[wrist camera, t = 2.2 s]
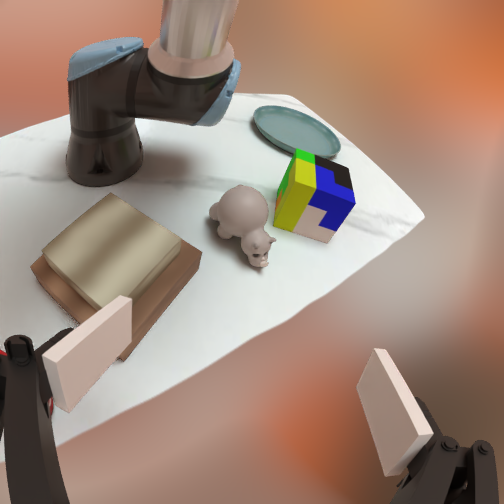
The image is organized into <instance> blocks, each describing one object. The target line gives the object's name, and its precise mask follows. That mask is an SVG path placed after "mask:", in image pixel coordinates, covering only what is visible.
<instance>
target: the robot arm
mask: <svg viewBox="0 0 504 504" xmlns="http://www.w3.org/2000/svg"><path fill="white" fill-rule="evenodd" d="M238 2H239V0H163V6H162V17H161V30H160V37H159V38H157V39H156V40H155V41H154V42H153V43H152V44H151V46H150V47H149V48H143V45H144V43H143V40H142V39H141V38H136V37H124V38H116V39H110V40H106V41H101V42H98V43H94V44H91V45H88V46H86V47H84V48H82V49H80V50H78V51H76V52H75V53H74V54H73V55H72V57H71V59H70V61H69V70H68V78H67V81H68V94H69V111H70V122H71V136H70V140H69V145H68V151H67V155H66V166H67V172H68V174H69V176H70V177H71V179H72V180H74V181H75V182H77V183H79V184H82V185H86V186H106V185H111V184H115V183H118V182H120V181H123V180H125V179H127V178H128V177H130V176H131V175H133V174H134V173H135V172H136V171H137V170H138V169H139V167H140V166H141V164H142V160H143V146H142V143H141V141H140V137H139V134H138V131H137V128H136V125H135V118H142V119H151V120H159V121H166V122H173V123H180V124H186V125H190V126H195V125H199V126H214V125H216V124H217V123H219V122H220V121H221V119H222V118H223V116H224V114H225V112H226V110H227V108H228V106H229V104H230V101H231V99H232V94H233V93H234V90H235V88H236V85H237V82H238V78H239V75H240V69H241V64H240V62H239V61H238V60H236V59H234V50H233V48H232V46H231V45H230V43H229V42H228V41H227V38H228V35H229V31H230V28H231V24H232V21H233V18H234V15H235V11H236V8H237V5H238ZM131 342H132V299H131V298H128V297H124V296H121V295H120V296H118V297H117V298H116V299H114V300H113V301H112V302H110V303H109V304H107V305H106V306H105V307H103V308H102V309H101V310H99V311H98V312H97V313H95V314H94V315H93V316H91V317H90V318H89V319H87V320H86V321H85V322H83V323H82V324H81V325H80V326H78V327H77V328H76V329H73V328H71V327H70V328H67V329H64V330H62V331H60V332H59V333H57V334H56V335H55V336H54V337H52V338H51V339H49V341H47V342H45V343H44V344H43V345H41V346H40V347H39V348H37V349H36V350H35V351H34V349H33V344H32V340H31V339H30V338H29V337H27V336H25V335H14V336H11V337H9V338H8V339H6V341H5V343H4V346H5V350H6V353H7V356H5V355H2V354H0V441H1V436H2V432H3V429H4V447H5V462H6V471H7V481H8V488H9V494H10V500H11V504H70V503H69V500H68V497H67V493H66V490H65V486H64V482H63V478H62V475H61V471H60V466H59V462H58V457H57V452H56V447H55V442H54V436H53V429H52V422H51V415H50V406H49V403H48V400H49V399H50V398H51V397H52V396H53V399H54V402H55V405H56V406H57V407H59V408H61V409H62V410H64V411H66V412H68V413H70V412H71V411H72V409H73V408H74V407H75V406H76V405H77V403H78V402H79V401H80V400H81V399H82V398H83V396H84V395H85V394H86V393H87V392H88V391H89V389H90V388H91V387H92V386H93V385H94V384H95V382H96V381H97V380H98V379H99V378H100V377H101V376H102V374H103V373H104V372H105V371H106V370H107V369H108V368H109V366H110V365H111V364H112V363H113V362H114V361H115V360H116V359H117V357H118V356H119V355H120V354H121V353H122V352H123V351H124V350H125V348H126V347H127V346H128V345H129V344H130V343H131ZM356 389H357V391H358V394H359V397H360V400H361V403H362V406H363V409H364V412H365V415H366V418H367V420H368V424H369V427H370V430H371V433H372V436H373V439H374V442H375V445H376V449H377V451H378V454H379V458H380V461H381V464H382V468H383V472H384V475H385V476H393V475H400V474H401V473H402V472H403V470H404V469H405V468H406V467H407V468H408V470H409V473H408V474H407V475H406V477H404V479H403V480H402V481H401V482H400V483H399V484H398V485H397V487H399V486H400V487H399V489H398V491H397V492H396V494H395V496H394V497H393V499H392V501H391V502H390V504H499V496H498V481H497V471H496V463H495V456H494V451H493V448H492V446H491V445H490V444H489V443H488V442H486V441H484V440H477V441H475V443H474V444H473V445H472V446H471V447H470V448H466V447H460V446H459V444H458V442H457V441H456V440H455V439H453V438H451V437H448V436H443V435H442V433H441V431H440V429H439V428H438V426H437V424H436V422H435V421H434V419H433V418H432V415H431V413H430V412H429V410H428V408H427V407H426V405H425V403H424V402H422V401H421V400H420V399H419V398H418V397H413V395H412V393H411V391H410V390H409V388H408V386H407V384H406V383H405V381H404V379H403V378H402V376H401V374H400V372H399V371H398V369H397V367H396V366H395V364H394V362H393V361H392V359H391V358H390V356H389V354H388V353H387V351H386V350H385V349H377V348H374V349H373V351H372V353H371V356H370V358H369V360H368V363H367V365H366V367H365V369H364V372H363V374H362V376H361V378H360V380H359V382H358V385H357V386H356ZM466 484H467V487H466Z"/></svg>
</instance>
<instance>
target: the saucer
mask: <svg viewBox="0 0 504 504" xmlns="http://www.w3.org/2000/svg"><path fill="white" fill-rule="evenodd" d="M254 121H255V123H256V126H257V127H258V129H259V131H260V132H261V133H262V134H263V135H264V136H265V137H266V138H267V139H268V140H269V141H271V142H272V143H273V144H275V145H276V146H278V147H280V148H282V149H283V150H285V151H288V152H290V153H293V154H294V153H295V150H296V148H298V149H301V150H304V151H306V152H309V153H312V154H314V155H317V156H320V157H322V158H328V157H332V156H334V155H336V154H337V153H338V152H339V151H340V149H341V144H340V141H339V139H338V138H337V137H336V135H335V134H334V133H333V132H332V131H331V130H330V129H329V128H328V127H326V126H325V125H324V124H322V123H321V122H319V121H318V120H316V119H314V118H313V117H311V116H309V115H307V114H304V113H302V112H299V111H297V110H294V109H290V108H286V107H281V106H262V107H259V108H257V109H256V110H255V112H254Z"/></svg>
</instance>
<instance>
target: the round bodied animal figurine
mask: <svg viewBox="0 0 504 504" xmlns="http://www.w3.org/2000/svg"><path fill="white" fill-rule="evenodd" d="M268 213H269V210H268V204H267V202H266V200H265V198H264V196H263V195H262V194H261V193H260V192H259V191H257V190H256V189H254V188H252V187H248V186H243V185H238V186H236V187H234V188H232V189H230V190H228V191H227V192H226V193H225V194H224V195H223V196H222V197H221V199H220V201H219V202H217V203H215V204H214V205H212V206H211V208H210V210H209V215H210V217H211V218H212V219H213V220H215V221H219V223H220V225H219V226H218V228H217V233H218V235H219V236H220V237H221V238H223V239H230V238H231V237H232V236H233V235H234V236H237V237H241V247H242V250H243V252H244V253H245V254H246V255H248V260H249V262H250V264H251V265H253V266H255V267H261V266H262V267H266V266H267V265H268V263H269V262H267V259H268V251H269V250H270V247H271V243H273V242H275V241H276V239H275V238H272V237H270V236H269V234H268V233H267V232H265V231H264V225H265V223H266V221H267V219H268Z"/></svg>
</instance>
